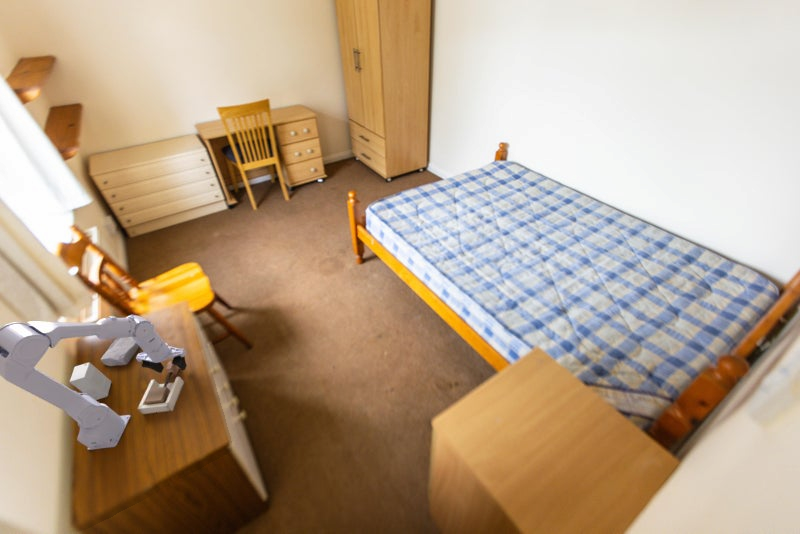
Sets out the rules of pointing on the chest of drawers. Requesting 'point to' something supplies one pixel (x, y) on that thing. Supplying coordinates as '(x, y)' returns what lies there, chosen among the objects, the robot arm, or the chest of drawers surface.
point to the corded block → (161, 393)
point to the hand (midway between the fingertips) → (173, 369)
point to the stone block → (120, 352)
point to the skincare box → (90, 381)
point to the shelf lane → (170, 401)
